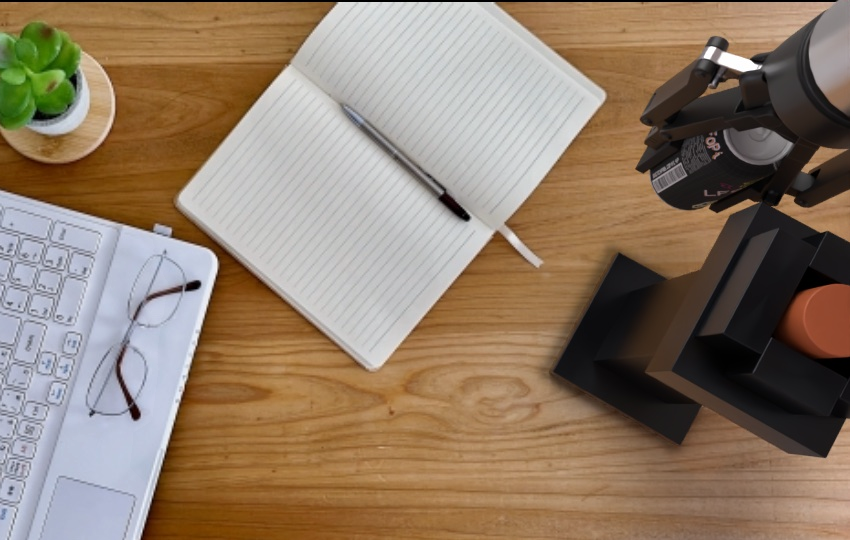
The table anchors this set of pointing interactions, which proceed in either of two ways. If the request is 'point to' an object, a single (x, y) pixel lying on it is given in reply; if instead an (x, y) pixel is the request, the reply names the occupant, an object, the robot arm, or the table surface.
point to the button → (817, 322)
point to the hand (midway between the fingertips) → (683, 176)
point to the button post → (717, 338)
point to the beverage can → (717, 166)
